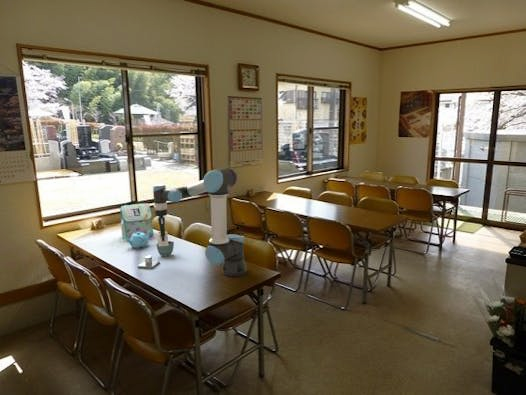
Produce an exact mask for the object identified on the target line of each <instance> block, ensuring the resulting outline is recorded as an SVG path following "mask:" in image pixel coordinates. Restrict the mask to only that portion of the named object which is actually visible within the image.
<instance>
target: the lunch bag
mask: <svg viewBox="0 0 526 395" xmlns="http://www.w3.org/2000/svg"><path fill="white" fill-rule="evenodd" d="M119 211H120V212H119V216H120V227H121V236H122V238H123V239H124V240H125V239H126V238H128V239H130V238H131V236H132V234H133V233H137V232H140V233H144V234H145V235H146V236H147V233H148V231H150V230H151V231H150V233H149V237H152V236H154V229H153V228H154V227H153V219H152V212H151V208H150V204H149V203H135V204H130V205H129V204H125V205H121V206H120V210H119Z"/></svg>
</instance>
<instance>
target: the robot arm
mask: <svg viewBox="0 0 526 395" xmlns="http://www.w3.org/2000/svg"><path fill="white" fill-rule="evenodd" d="M238 181H239V176H238V173H237V171H236V170H235V169H234V168H232V167H224V168H218V169H213V170H209V171H208V172H207V173H205V175H204V177H203V179H202V180H199V181H197V182H193V183H191V184H187V185H184V186H180V187H174V188H167V187H166V185H165V184H163V183H162V184H161V183H160V184H154V185H153V186H152V192H153V203H154V204H152V205H153V207H154V215H155V216H156V217H157V219H158V225H159V232H161V236H160V237H161V246H166V241H165V231H166V229H165V225H166V222H165V221H166V219H165V216H167V215H168V204H167V202H171V203H178V202H180V201H181V200H183V199H188V198H191V197H194V196H197V195H200V194H203V193H207V195H208V196H209V197H210V214H211V215H210V220H211V223H210V224H211V225H210V226H211V238H209V241H208V246H207V247H206V248H205V252H204V253H205V258H206V259H207V260H208V262H209V263H210V264H212V265H215V266H218V265H221V264H223V265H222V269H221V273H222V274H223V275H224V276H227V277H239V276H242V275H243V276H244V275H245V274H246V273H247V271H248V269H247V268H248V267H247V265H246V261H245V259H244V258H245V257H244V256H245V255H244V238H243V236H242V235H239V234H228V233H227V232H228V231H227V230H228V229H227V226H228V225H227V224H228V223H227V221H228V220H227V196H229V194H230V188H234V186H236V184H238Z"/></svg>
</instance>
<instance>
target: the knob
mask: <svg viewBox="0 0 526 395" xmlns="http://www.w3.org/2000/svg"><path fill="white" fill-rule="evenodd" d="M160 236H161V232H160V231H158V232H157V241H158V242H157V244H159V246H161V237H160ZM165 241H166V246H169V245H168V241H169V234H168V231H166V230H165Z"/></svg>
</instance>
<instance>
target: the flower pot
mask: <svg viewBox="0 0 526 395" xmlns="http://www.w3.org/2000/svg"><path fill="white" fill-rule="evenodd" d="M168 245H169V246H159V244H158V243H156V249H157V252H158V254H159V255H160V256H161V257H169V256H170V255H172V253H173V251H174V248H175V246H174V245H175V241H172V240H171V241H169V240H168Z"/></svg>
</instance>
